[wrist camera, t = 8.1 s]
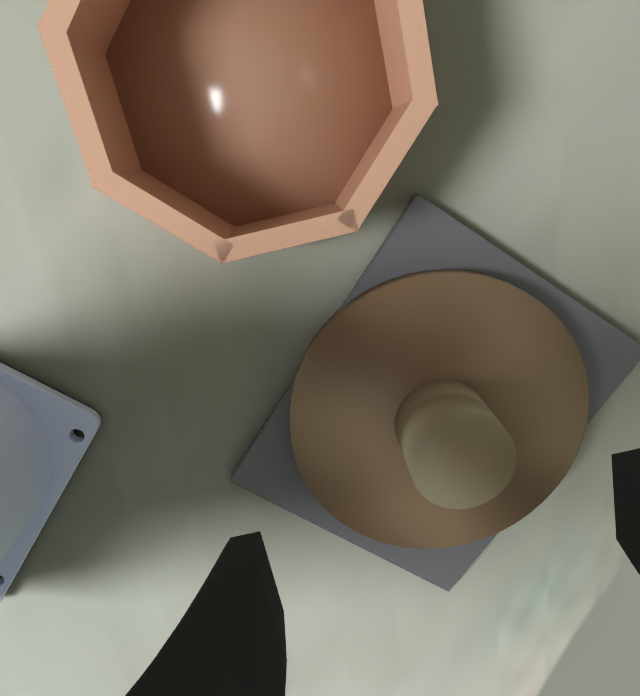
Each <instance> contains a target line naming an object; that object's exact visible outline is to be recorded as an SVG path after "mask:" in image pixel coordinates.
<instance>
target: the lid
mask: <svg viewBox="0 0 640 696" xmlns="http://www.w3.org/2000/svg"><path fill="white" fill-rule="evenodd" d="M588 408H589V389H588V381H587V375H586V370H585V366H584V363H583V360H582V357H581V354H580V351H579V349H578V348H577V346H576V344H575V342H574V340H573V338H572V336H571V334H570V333H569V332H568V330H567V329H566V327H565V326H564V325H563V323H562V322H561V321H560V320H559V319H558V318H557V317H556V316H555V315H554V313H553V312H552V311H551V310H550V309H549V308H548V307H546V306H545V305H544V304H542V303H541V302H540V301H538V300H537V299H536V298H534V297H533V296H532V295H530V294H528V293H526V292H524V291H523V290H521V289H519V288H517V287H515V286H513V285H512V284H510V283H508V282H506V281H503V280H501V279H498V278H495V277H492V276H490V275H486V274H482V273H477V272H473V271H467V270H454V269H440V270H426V271H420V272H415V273H410V274H406V275H402V276H399V277H396V278H393V279H390V280H387V281H385V282H383V283H381V284H379V285H376V286H374V287H372V288H370V289H368V290H367V291H365V292H363V293H362V294H360V295H359V296H357V297H355V298H354V299H352V300H351V301H350V302H348V303H347V304H346V305H345V306H343V307H342V308H341V309H340V310H338V311H337V312H336V313H335V314H334V315H333V316H332V317H331V318H330V319H329V320H328V322H327V323H326V324H325V325H324V326H323V327H322V328H321V329H320V331H319V332H318V334H317V335H316V336H315V338H314V339H313V341H312V342H311V343H310V345H309V347H308V349H307V351H306V353H305V355H304V357H303V358H302V360H301V363H300V366H299V368H298V371H297V374H296V376H295V380H294V385H293V390H292V394H291V404H290V433H291V443H292V448H293V452H294V457H295V460H296V463H297V465H298V468H299V471H300V473H301V475H302V477H303V479H304V481H305V483H306V485H307V486H308V488H309V490H310V491H311V492H312V494H313V495H314V496H315V498H316V499H317V500H318V502H319V503H320V504H321V505H322V506H323V507H324V508H325V509H326V510H327V511H328V512H329V513H330V514H331V515H332V516H333V517H335V518H336V519H337V520H339V521H340V522H341V523H343V524H344V525H345V526H347V527H349V528H350V529H352V530H354V531H356V532H357V533H359V534H361V535H364V536H366V537H368V538H371V539H373V540H376V541H379V542H383V543H386V544H390V545H394V546H400V547H406V548H419V549H434V548H447V547H453V546H458V545H464V544H467V543H471V542H474V541H477V540H481V539H484V538H486V537H488V536H491V535H493V534H496V533H498V532H500V531H502V530H504V529H506V528H507V527H509V526H511V525H513V524H515V523H516V522H518V521H519V520H521V519H522V518H523V517H525V516H526V515H528V514H529V513H530V512H532V511H533V510H534V509H535V508H536V507H537V506H538V505H540V504H541V503H542V502H543V501H544V500H545V499H546V498H547V497H548V496H549V495H550V494H551V492H552V491H553V490H554V489H555V488H556V487H557V486H558V484H559V483H560V481H561V480H562V479H563V477H564V476H565V474H566V473H567V471H568V470H569V468H570V466H571V464H572V462H573V461H574V459H575V457H576V455H577V452H578V450H579V447H580V445H581V442H582V440H583V436H584V432H585V428H586V424H587V417H588Z"/></svg>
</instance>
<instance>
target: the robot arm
mask: <svg viewBox="0 0 640 696" xmlns="http://www.w3.org/2000/svg"><path fill="white" fill-rule="evenodd" d="M100 423H101V420H100V416H99V415H98V413H97V412H96V411H94V410H93V409H91V408H89V407H87V406H85V405H83V404H81V403H79V402H77V401H76V400H74V399H72V398H70V397H68V396H66V395H64V394H62V393H60V392H58V391H56V390H54V389H52V388H50V387H48V386H46V385H44V384H42V383H40V382H38V381H36V380H34V379H32V378H30V377H28V376H26V375H24V374H22V373H20V372H18V371H16V370H14V369H12V368H10V367H8V366H6V365H4V364H2V363H0V575H1V576H2V577H3V578H0V602H1V601H2V599H3V597H4V596H5V594H6V592H7V590H8V589H9V587H10V585H11V583H12V582H13V580H14V578H15V576H16V574H17V573H18V571H19V569H20V567H21V566H22V564H23V562H24V560H25V558H26V557H27V555H28V553H29V551H30V550H31V548H32V546H33V544H34V542H35V541H36V539H37V537H38V535H39V534H40V532H41V530H42V528H43V526H44V525H45V523H46V521H47V519H48V518H49V516H50V514H51V512H52V510H53V509H54V507H55V505H56V503H57V502H58V500H59V498H60V496H61V494H62V493H63V491H64V489H65V487H66V486H67V484H68V482H69V480H70V478H71V477H72V475H73V473H74V471H75V470H76V468H77V466H78V464H79V462H80V461H81V459H82V457H83V455H84V454H85V452H86V450H87V448H88V446H89V445H90V443H91V441H92V439H93V438H94V436H95V434H96V432H97V430H98V429H99V427H100ZM73 429H78V430H81V431H82V432H83V433H84V436H85V437H82V438H81V437H77V436H76V435H75V434H74V432H73ZM612 471H613V488H614V506H615V523H616V539H617V541H618V542H619V544H620V545H621V547H622V549H623V550H624V552H625V553H626V555H627V556H628V558H629V559H630V561H631V563H632V564H633V565H634V567H635V568H636V570H637V572H638V573H639V574H640V448H639V449H635V450H630V451H625V452H621V453H616V454H612ZM286 664H287V658H286V639H285V624H284V610H283V607H282V604H281V600H280V597H279V594H278V590H277V587H276V583H275V580H274V577H273V573H272V570H271V567H270V563H269V560H268V556H267V553H266V550H265V546H264V543H263V540H262V536H261V533H260V531H259V532H255V533H250V534H245V535H241V536H236V537H232V538H230V540H229V541H228V543H227V544H226V546H225V547H224V549H223V551H222V553H221V554H220V556H219V558H218V560H217V561H216V563H215V565H214V567H213V568H212V570H211V572H210V574H209V575H208V577H207V579H206V580H205V582H204V584H203V586H202V587H201V589H200V590H199V592H198V594H197V595H196V597H195V599H194V600H193V602H192V603H191V605H190V607H189V608H188V610H187V611H186V613H185V615H184V616H183V618H182V619H181V621H180V622H179V624H178V625H177V627H176V628H175V630H174V631H173V633H172V634H171V636H170V637H169V638H168V640H167V641H166V643H165V644H164V646H163V647H162V649H161V650H160V651H159V653H158V654H157V656H156V657H155V659H154V660H153V661H152V663H151V664H150V665H149V667H148V668H147V669H146V671H145V672H144V673H143V675H142V676H141V677H140V678H139V680H138V681H137V682H136V683H135V684H134V686H133V687H132V688H131V689H130V690H129V692H128V693H127V694H126V695H125V696H285V685H286Z"/></svg>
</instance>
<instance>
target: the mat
mask: <svg viewBox="0 0 640 696" xmlns="http://www.w3.org/2000/svg"><path fill="white" fill-rule="evenodd" d="M440 269H454V270H467V271H473V272H477V273H482V274H486V275H490V276H492V277H495V278H498V279H501V280H503V281H506V282H508V283H510V284H512V285H513V286H515V287H517V288H519V289H521V290H523V291H524V292H526V293H528V294H530V295H532V296H533V297H534V298H536V299H537V300H538V301H540V302H541V303H542V304H544V305H545V306H546V307H548V308H549V309H550V310H551V311H552V312H553V313H554V315H555V316H556V317H557V318H558V319H559V320H560V321H561V322H562V323H563V325H564V326H565V327H566V329H567V330H568V332H569V333H570V334H571V336H572V338H573V340H574V342H575V344H576V346H577V348H578V349H579V351H580V354H581V357H582V360H583V363H584V366H585V370H586V375H587V381H588V389H589V408H588V417H587V423H588V422H589V421H590V420H591V418H592V417H593V416H594V415H595V414H596V412H597V411H598V410H599V409H600V407H601V406H602V405H603V404H604V403H605V401H606V400H607V399H608V398H609V397H610V395H611V394H612V393H613V392H614V390H615V389H616V388H617V387H618V386H619V384H620V383H621V382H622V381H623V380H624V378H625V377H626V376H627V375H628V373H629V372H630V371H631V370H632V369H633V367H634V366H635V365H636V364H637V363H638V361H639V360H640V344H639V343H638V342H636V341H635V340H633V339H632V338H630V337H629V336H627V335H626V334H624V333H623V332H622V331H620V330H619V329H617V328H616V327H614V326H613V325H611V324H610V323H608V322H607V321H605V320H604V319H602V318H601V317H599V316H598V315H596V314H595V313H593V312H592V311H590V310H589V309H587V308H586V307H584V306H583V305H582V304H580V303H579V302H577V301H576V300H574V299H573V298H571V297H570V296H568V295H567V294H565V293H564V292H562V291H561V290H559V289H558V288H556V287H555V286H553V285H552V284H550V283H549V282H547V281H546V280H544V279H543V278H542V277H540V276H539V275H537V274H536V273H534V272H533V271H531V270H530V269H528V268H527V267H525V266H524V265H522V264H521V263H519V262H518V261H516V260H515V259H513V258H512V257H510V256H509V255H507V254H506V253H504V252H503V251H502V250H500V249H499V248H497V247H496V246H494V245H493V244H491V243H490V242H488V241H487V240H485V239H484V238H482V237H481V236H479V235H478V234H476V233H475V232H473V231H472V230H470V229H469V228H467V227H466V226H464V225H463V224H462V223H460V222H459V221H457V220H456V219H454V218H453V217H451V216H450V215H448V214H447V213H445V212H444V211H442V210H441V209H439V208H438V207H436V206H435V205H433V204H432V203H430V202H429V201H427V200H426V199H424V198H423V197H422V196H420V195H419V194H416V193H415V195H414V196H413V198H412V199H411V201H410V202H409V204H408V205H407V207H406V208H405V210H404V211H403V213H402V214H401V216H400V218H399V219H398V221H397V222H396V224H395V225H394V227H393V228H392V230H391V231H390V233H389V234H388V236H387V238H386V239H385V241H384V242H383V244H382V245H381V247H380V248H379V250H378V251H377V253H376V254H375V256H374V258H373V259H372V261H371V262H370V264H369V265H368V267H367V268H366V270H365V271H364V273H363V274H362V276H361V277H360V279H359V281H358V282H357V284H356V285H355V287H354V288H353V290H352V291H351V293H350V294H349V296H348V297H347V299H346V301H345V302H344V304H343V305H342V307H343V306H345V305H346V304H347V303H348V302H350V301H351V300H352V299H354V298H355V297H357V296H359V295H360V294H362V293H363V292H365V291H367V290H368V289H370V288H372V287H374V286H376V285H379V284H381V283H383V282H385V281H387V280H390V279H393V278H396V277H399V276H402V275H406V274H410V273H415V272H420V271H426V270H440ZM342 307H341V308H342ZM341 308H340V309H341ZM294 380H295V379H294ZM294 380H293V382H292V383H291V385H290V387H289V388H288V390H287V391H286V393H285V394H284V396H283V397H282V399H281V400H280V402H279V403H278V405H277V407H276V408H275V410H274V411H273V413H272V414H271V416H270V417H269V419H268V420H267V422H266V423H265V425H264V427H263V428H262V430H261V431H260V433H259V434H258V436H257V437H256V439H255V440H254V442H253V443H252V445H251V446H250V448H249V450H248V451H247V453H246V454H245V456H244V457H243V459H242V460H241V462H240V463H239V465H238V466H237V468H236V470H235V471H234V473H233V474H232V476H231V482H233V483H235V484H237V485H239V486H241V487H243V488H245V489H247V490H249V491H251V492H253V493H255V494H256V495H258V496H260V497H262V498H264V499H266V500H268V501H270V502H272V503H274V504H276V505H278V506H280V507H282V508H284V509H286V510H288V511H290V512H292V513H294V514H296V515H298V516H300V517H302V518H304V519H306V520H308V521H310V522H312V523H314V524H316V525H318V526H320V527H322V528H324V529H326V530H328V531H330V532H332V533H334V534H336V535H338V536H340V537H342V538H344V539H346V540H347V541H349V542H351V543H353V544H355V545H357V546H359V547H361V548H363V549H365V550H367V551H369V552H371V553H373V554H375V555H377V556H379V557H381V558H383V559H385V560H387V561H389V562H391V563H393V564H395V565H397V566H399V567H401V568H403V569H405V570H407V571H409V572H411V573H413V574H415V575H417V576H419V577H421V578H423V579H425V580H427V581H429V582H431V583H433V584H435V585H437V586H439V587H440V588H442V589H444V590H446V591H448V592H449V591H450V590H451V588H452V587H453V586H454V585H455V583H456V582H457V581H458V580H459V579H460V577H461V576H462V575H463V574H464V573H465V571H466V570H467V569H468V568H469V566H470V565H471V564H472V563H473V562H474V560H475V559H476V558H477V557H478V556H479V554H480V553H481V552H482V551H483V549H484V548H485V547H486V546H487V545H488V543H489V542H490V541H491V540H492V539H493V537H494V536H495V535H496V534H497V533H496V534H493V535H491V536H488V537H486V538H484V539H481V540H477V541H474V542H471V543H467V544H464V545H458V546H453V547H447V548H434V549H419V548H406V547H400V546H394V545H390V544H386V543H383V542H379V541H376V540H373V539H371V538H368V537H366V536H364V535H361V534H359V533H357V532H356V531H354V530H352V529H350V528H349V527H347V526H345V525H344V524H343V523H341V522H340V521H339V520H337V519H336V518H335V517H333V516H332V515H331V514H330V513H329V512H328V511H327V510H326V509H325V508H324V507H323V506H322V505H321V504H320V503H319V502H318V500H317V499H316V498H315V496H314V495H313V494H312V492H311V491H310V490H309V488H308V486H307V485H306V483H305V481H304V479H303V477H302V475H301V473H300V471H299V468H298V465H297V463H296V460H295V457H294V452H293V448H292V443H291V433H290V404H291V394H292V390H293V385H294Z"/></svg>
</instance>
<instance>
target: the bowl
mask: <svg viewBox="0 0 640 696" xmlns="http://www.w3.org/2000/svg"><path fill="white" fill-rule="evenodd" d="M37 26H38V27H37V28H38V29H39V32H40V35H41V38H42V40H43V43H44V46H45V49H46V52H47V55H48V58H49V61H50V64H51V67H52V70H53V72H54V75H55V78H56V81H57V84H58V87H59V90H60V93H61V96H62V99H63V102H64V104H65V107H66V110H67V113H68V116H69V119H70V122H71V125H72V128H73V131H74V134H75V136H76V139H77V142H78V145H79V148H80V151H81V154H82V157H83V160H84V163H85V165H86V168H87V171H88V174H89V177H90V180H91V183H92V187H93V189H94V188H95V189H97V190H99V191H100V192H102V193H104V194H105V195H107V196H109V197H110V198H112V199H114V200H115V201H117V202H119V203H120V204H122V205H124V206H126V207H127V208H129V209H131V210H132V211H134V212H136V213H137V214H139V215H141V216H142V217H144V218H146V219H147V220H149V221H151V222H153V223H154V224H156V225H158V226H159V227H161V228H163V229H164V230H166V231H168V232H169V233H171V234H173V235H174V236H176V237H178V238H180V239H181V240H183V241H185V242H186V243H188V244H190V245H191V246H193V247H195V248H196V249H198V250H200V251H201V252H203V253H205V254H207V255H208V256H210V257H212V258H213V259H215V260H217V261H218V262H220V264H221V263H222V264H223V263H226V262H230V261H234V260H238V259H243V258H247V257H251V256H255V255H259V254H264V253H268V252H272V251H276V250H280V249H285V248H289V247H293V246H297V245H301V244H306V243H310V242H314V241H318V240H323V239H327V238H331V237H335V236H339V235H344V234H348V233H352V232H357V231H358V229H359V227H360V226H361V224H362V223H363V221H364V219H365V218H366V216H367V215H368V213H369V212H370V210H371V208H372V207H373V205H374V204H375V202H376V201H377V199H378V197H379V196H380V194H381V193H382V191H383V189H384V188H385V186H386V185H387V183H388V182H389V180H390V178H391V177H392V175H393V174H394V172H395V171H396V169H397V167H398V166H399V164H400V163H401V161H402V160H403V158H404V156H405V155H406V153H407V152H408V150H409V149H410V147H411V145H412V144H413V142H414V141H415V139H416V137H417V136H418V134H419V133H420V131H421V130H422V128H423V126H424V125H425V123H426V122H427V120H428V119H429V117H430V115H431V114H432V112H433V111H434V109H435V108H436V106H437V105H438V103H439V102H438V100H437V94H436V87H435V80H434V73H433V67H432V60H431V53H430V47H429V40H428V33H427V26H426V20H425V13H424V6H423V0H49V2H48V4H47V7H46V9H45V11H44V13H43V16H42V18H41V20H40V23H39V25H37Z"/></svg>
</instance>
